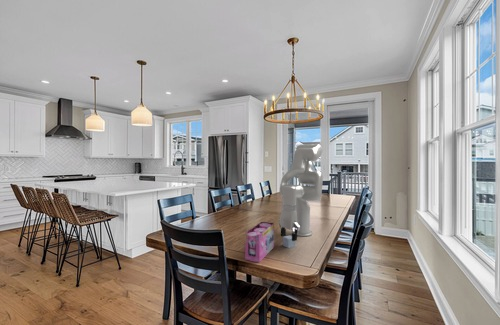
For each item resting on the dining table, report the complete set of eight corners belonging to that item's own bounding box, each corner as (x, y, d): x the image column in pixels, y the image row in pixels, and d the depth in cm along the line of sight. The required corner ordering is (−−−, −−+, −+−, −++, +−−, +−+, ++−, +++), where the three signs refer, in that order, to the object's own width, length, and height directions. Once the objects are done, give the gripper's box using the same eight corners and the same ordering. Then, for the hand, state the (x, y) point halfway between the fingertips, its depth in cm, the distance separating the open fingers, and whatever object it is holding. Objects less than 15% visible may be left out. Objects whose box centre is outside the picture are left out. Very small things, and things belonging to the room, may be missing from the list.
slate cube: (282, 245, 137) (282, 236, 137) (289, 243, 139) (289, 235, 139) (288, 248, 133) (288, 239, 132) (295, 246, 135) (295, 237, 135)
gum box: (258, 264, 113) (258, 235, 112) (243, 261, 116) (243, 233, 116) (274, 247, 135) (274, 222, 134) (261, 244, 138) (261, 221, 138)
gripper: (274, 205, 141) (274, 235, 141) (294, 210, 126) (293, 243, 126) (284, 205, 145) (284, 233, 145) (304, 209, 130) (304, 241, 130)
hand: (288, 238), depth 135 cm, fingers open, 9 cm apart
